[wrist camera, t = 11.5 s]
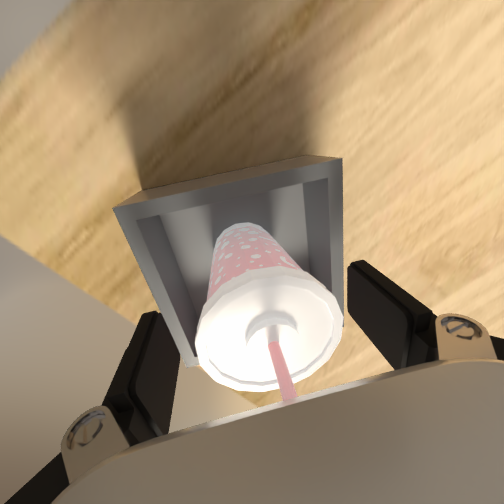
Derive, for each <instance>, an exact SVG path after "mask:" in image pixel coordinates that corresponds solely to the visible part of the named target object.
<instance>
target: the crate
mask: <svg viewBox="0 0 504 504" xmlns="http://www.w3.org/2000/svg"><path fill="white" fill-rule="evenodd" d="M112 209H113V211H114V213H115V215H116V217H117V219H118V222H119V224H120V226H121V228H122V230H123V232H124V234H125V237H126V239H127V241H128V243H129V245H130V247H131V249H132V252H133V254H134V256H135V258H136V260H137V262H138V264H139V267H140V269H141V271H142V273H143V275H144V277H145V280H146V282H147V284H148V286H149V288H150V290H151V292H152V295H153V297H154V299H155V301H156V303H157V305H158V307H159V310H160V312H161V314H162V315H163V318H164V320H165V322H166V324H167V326H168V328H169V330H170V333H171V335H172V337H173V339H174V341H175V343H176V345H177V348H178V350H179V352H180V355H181V357H182V359H183V361H184V363H185V365H186V367H187V368H189V367H193V366H197V365H200V363H199V359H198V355H197V351H196V347H195V337H196V333H197V326H198V323H199V319H200V316H201V312H202V309H203V306H204V304H205V303H206V302H207V295H208V288H209V281H210V274H211V267H212V259H213V252H214V248H215V244H216V241H217V238H218V237H219V236H220V235H221V234H222V232H223V231H224V230H225V229H227V228H229V227H231V226H232V225H234V224H238V223H247V222H249V223H252V224H256V225H259V226H261V227H262V228H263V229H264V230H266V231H267V232H268V233H269V234H270V235H271V236H272V237H273V238H274V239H275V240H276V242H277V243H278V244H279V245H280V246H281V247H282V248H283V249H284V250H285V251H286V252H287V254H288V255H289V256H290V257H291V258H292V259H293V260H294V261H295V262H296V263H297V265H298V266H299V267H300V268H301V269H302V270H303V271H305V272H308V273H309V274H310V275H311V276H313V277H314V278H315V279H317V280H318V281H319V282H320V283H322V284H323V285H324V286H325V287H326V289H327V290H329V291H330V292H331V293H332V294H333V295H334V296H335V298H336V300H337V303H338V305H339V308H340V310H341V313H342V315H343V317H344V281H343V169H342V158H335V157H323V156H311V155H305V156H300V157H295V158H291V159H286V160H281V161H277V162H272V163H267V164H263V165H258V166H253V167H248V168H244V169H239V170H234V171H230V172H225V173H220V174H216V175H211V176H206V177H202V178H197V179H192V180H188V181H183V182H178V183H174V184H169V185H164V186H160V187H155V188H150V189H146V190H142V191H140V192H138V193H137V194H135V195H133V196H132V197H130V198H128V199H127V200H125V201H123V202H122V203H120V204H118V205H116V206H115V207H113V208H112ZM342 327H344V318H343V326H342Z"/></svg>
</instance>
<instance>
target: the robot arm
mask: <svg viewBox="0 0 504 504" xmlns="http://www.w3.org/2000/svg"><path fill="white" fill-rule="evenodd" d="M347 308H348V312H349V314H350V316H351V317H352V318H353V319H354V321H355V322H356V323H357V324H358V325H359V327H360V328H361V329H362V330H363V332H364V333H365V334H366V335H367V336H368V338H369V339H370V340H371V341H372V343H373V344H374V345H375V346H376V348H377V349H378V350H379V351H380V352H381V354H382V355H383V356H384V357H385V359H386V360H387V361H388V362H389V364H390V365H391V366H392V367H393V368H394V371H390V372H386V373H383V374H379V375H375V376H371V377H368V378H364V379H360V380H357V381H353V382H349V383H346V384H342V385H338V386H335V387H331V388H327V389H324V390H320V391H316V392H313V393H309V394H306V395H302V396H298V397H295V398H291V399H288V400H284V401H280V402H277V403H273V404H270V405H266V406H262V407H259V408H255V409H252V410H248V411H245V412H241V413H238V414H234V415H231V416H227V417H224V418H220V419H217V420H213V421H210V422H206V423H203V424H199V425H195V426H192V427H189V428H186V429H182V430H179V431H176V432H173V433H169V434H168V432H169V426H170V420H171V414H172V407H173V401H174V395H175V388H176V382H177V376H178V370H179V363H180V352H179V350H178V348H177V345H176V343H175V341H174V339H173V337H172V335H171V333H170V330H169V328H168V326H167V324H166V322H165V320H164V318H163V315H162V314H161V313H158V312H157V311H152V312H148V313H144V314H142V316H141V318H140V320H139V323H138V325H137V327H136V330H135V332H134V335H133V337H132V339H131V341H130V344H129V346H128V348H127V349H126V350H125V353H124V355H123V357H122V359H121V362H120V364H119V366H118V369H117V371H116V373H115V375H114V378H113V380H112V382H111V385H110V387H109V389H108V392H107V394H106V396H105V399H104V401H103V403H102V405H101V406H96V407H93V408H91V409H89V410H87V411H86V412H84V413H83V414H81V415H80V416H79V417H78V418H77V419H76V420H75V421H74V422H73V423H72V424H71V425H70V427H69V428H68V429H67V431H66V433H65V435H64V436H63V439H62V442H61V452H60V453H59V454H58V455H57V456H56V457H55V458H54V459H53V460H52V461H51V462H49V463H48V464H47V465H46V466H45V467H44V468H43V469H42V470H41V471H40V472H38V473H37V474H36V475H35V476H34V477H33V478H32V479H31V480H30V481H29V482H28V483H26V484H25V485H24V486H23V487H22V488H21V489H20V490H19V491H18V492H17V493H15V494H14V495H13V496H12V497H11V498H10V499H9V500H8V501H7V502H6V503H4V504H504V339H502V338H498V337H494V336H490V335H489V333H488V331H487V330H486V328H485V327H484V326H483V325H482V324H480V323H479V322H477V321H476V320H474V319H472V318H469V317H467V316H463V315H459V314H452V313H449V314H442V315H439V316H438V317H437V316H436V315H435V314H433V313H432V311H431V310H430V309H429V308H427V307H426V306H425V305H423V304H422V303H421V302H419V301H418V300H417V299H415V298H414V297H413V296H411V295H410V294H409V293H407V292H406V291H405V290H403V289H402V288H401V287H399V286H398V285H397V284H395V283H394V282H393V281H391V280H390V279H389V278H387V277H386V276H385V275H383V274H382V273H381V272H379V271H378V270H377V269H375V268H374V267H373V266H371V265H370V264H369V263H367V262H366V261H365V260H359V261H355V262H352V263H351V264H350V266H348V268H347Z"/></svg>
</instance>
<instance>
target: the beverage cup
mask: <svg viewBox="0 0 504 504" xmlns="http://www.w3.org/2000/svg"><path fill="white" fill-rule="evenodd" d="M343 318H344V317H343V315H342V313H341V310H340V308H339V305H338V303H337V300H336V298H335V296H334V295H333V294H332V293H331V292H330V291H329V290H327V289H326V287H325V286H324V285H323V284H322V283H320V282H319V281H318V280H317V279H315V278H314V277H313V276H311V275H310V274H309V273H308V272H305V271H303V270H302V269H301V268H300V267H299V266H298V265H297V263H296V262H295V261H294V260H293V259H292V258H291V257H290V256H289V255H288V254H287V252H286V251H285V250H284V249H283V248H282V247H281V246H280V245H279V244H278V243H277V242H276V240H275V239H274V238H273V237H272V236H271V235H270V234H269V233H268V232H267V231H266V230H264V229H263V228H262V227H261V226H259V225H256V224H252V223H249V222H247V223H238V224H234V225H232V226H231V227H229V228H227V229H225V230H224V231H223V232H222V234H221V235H220V236H219V237H218V238H217V241H216V244H215V248H214V252H213V259H212V267H211V274H210V281H209V288H208V295H207V302H206V303H205V304H204V306H203V309H202V312H201V316H200V319H199V323H198V326H197V333H196V337H195V347H196V351H197V355H198V359H199V363H200V366H201V367H202V368H203V369H204V370H205V371H206V372H207V373H208V374H209V375H210V376H211V377H212V378H213V379H214V381H216V382H218V383H221V384H223V385H225V386H228V387H230V388H233V389H235V390H241V391H255V392H264V391H269V390H274V389H279V388H280V392H281V395H282V399H283V401H284V400H288V399H291V398H295V397H298V396H297V393H296V390H295V388H294V385H293V384H294V383H296V382H298V381H300V380H302V379H304V378H306V377H309V376H310V375H312V374H313V373H314V372H315V371H316V370H317V369H318V368H320V367H321V366H322V365H323V364H324V363H325V362H327V361H328V360H329V358H330V357H331V355H332V353H333V352H334V350H335V348H336V347H337V345H338V343H339V342H340V340H341V334H342V326H343Z"/></svg>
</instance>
